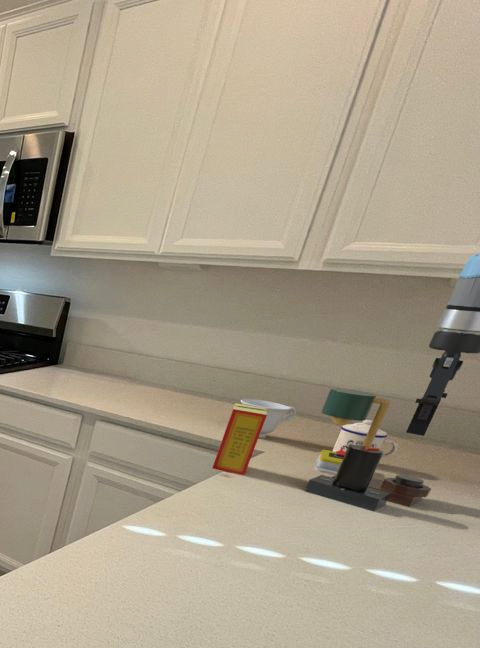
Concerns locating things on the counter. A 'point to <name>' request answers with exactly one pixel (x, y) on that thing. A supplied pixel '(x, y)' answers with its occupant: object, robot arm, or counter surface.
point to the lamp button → (409, 481)
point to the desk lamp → (354, 409)
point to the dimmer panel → (347, 493)
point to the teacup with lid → (361, 437)
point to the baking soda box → (240, 438)
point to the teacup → (271, 414)
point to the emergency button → (329, 461)
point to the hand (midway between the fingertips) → (417, 429)
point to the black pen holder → (357, 467)
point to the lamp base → (399, 491)
